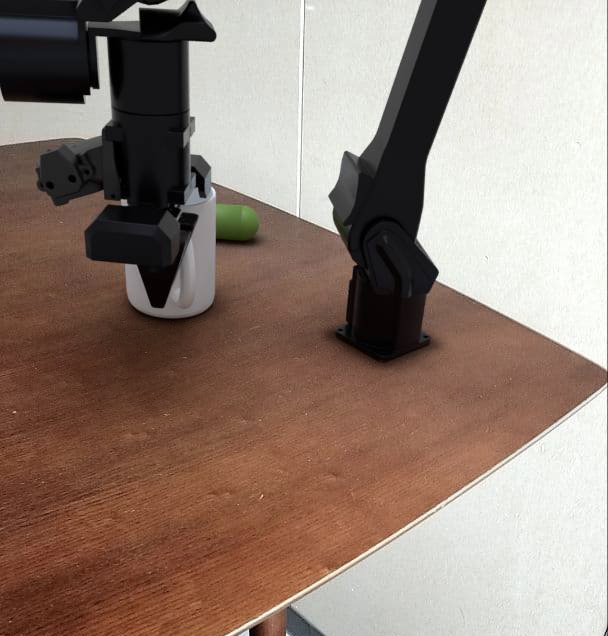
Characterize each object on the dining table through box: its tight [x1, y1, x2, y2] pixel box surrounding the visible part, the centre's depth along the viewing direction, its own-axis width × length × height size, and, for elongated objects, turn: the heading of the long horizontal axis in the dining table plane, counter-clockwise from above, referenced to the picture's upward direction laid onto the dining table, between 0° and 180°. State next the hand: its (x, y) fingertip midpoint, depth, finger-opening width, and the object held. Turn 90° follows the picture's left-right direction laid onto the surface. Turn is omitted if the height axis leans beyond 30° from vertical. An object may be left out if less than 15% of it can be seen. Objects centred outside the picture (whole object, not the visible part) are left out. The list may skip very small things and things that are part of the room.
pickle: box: [216, 203, 260, 242], centre depth 94 cm, size 10×4×4 cm, turn 86°
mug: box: [120, 186, 217, 319], centre depth 78 cm, size 12×8×10 cm
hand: (158, 306), depth 73 cm, fingers closed
